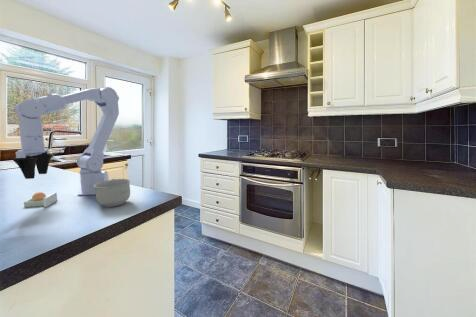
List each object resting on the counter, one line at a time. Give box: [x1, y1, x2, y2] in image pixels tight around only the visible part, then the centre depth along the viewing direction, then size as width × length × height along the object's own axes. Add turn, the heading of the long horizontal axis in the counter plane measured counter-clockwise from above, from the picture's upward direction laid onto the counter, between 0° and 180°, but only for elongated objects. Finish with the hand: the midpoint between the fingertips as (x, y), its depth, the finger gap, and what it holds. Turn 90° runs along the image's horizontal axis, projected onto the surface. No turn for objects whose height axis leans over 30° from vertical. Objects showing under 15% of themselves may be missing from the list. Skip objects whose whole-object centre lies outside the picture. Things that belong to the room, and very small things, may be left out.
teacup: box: [94, 178, 131, 208], centre depth 78 cm, size 14×11×8 cm
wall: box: [43, 192, 58, 208], centre depth 77 cm, size 1×7×3 cm, turn 17°
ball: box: [31, 191, 47, 201], centre depth 76 cm, size 4×4×4 cm
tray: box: [23, 195, 48, 208], centre depth 77 cm, size 6×6×2 cm
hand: (36, 176), depth 75 cm, fingers open, 7 cm apart
